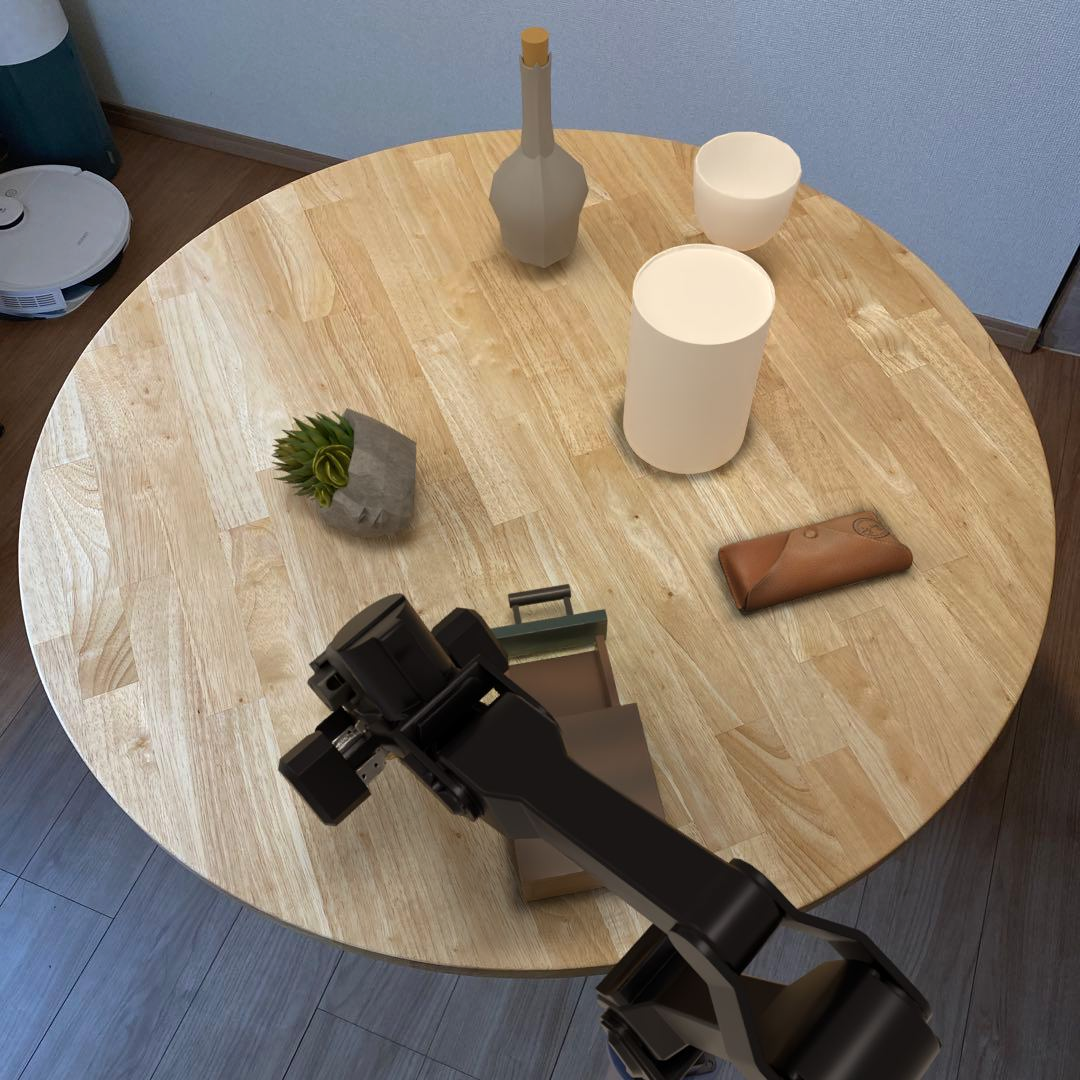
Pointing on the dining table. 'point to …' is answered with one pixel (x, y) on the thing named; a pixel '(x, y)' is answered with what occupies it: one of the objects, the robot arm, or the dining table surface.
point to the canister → (694, 355)
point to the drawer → (567, 677)
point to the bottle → (538, 171)
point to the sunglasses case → (810, 560)
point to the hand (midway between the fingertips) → (362, 695)
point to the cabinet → (617, 758)
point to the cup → (744, 188)
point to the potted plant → (352, 472)
